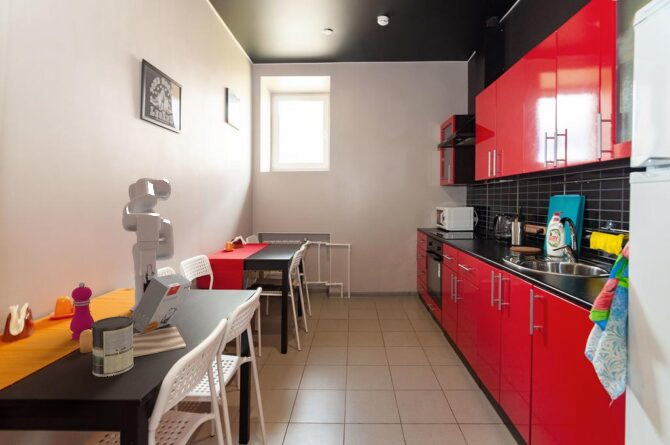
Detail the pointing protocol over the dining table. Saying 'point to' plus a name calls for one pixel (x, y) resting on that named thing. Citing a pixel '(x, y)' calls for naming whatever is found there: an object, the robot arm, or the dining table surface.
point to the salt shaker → (86, 341)
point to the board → (157, 341)
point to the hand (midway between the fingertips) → (148, 293)
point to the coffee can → (112, 345)
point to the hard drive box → (160, 302)
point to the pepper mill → (81, 311)
